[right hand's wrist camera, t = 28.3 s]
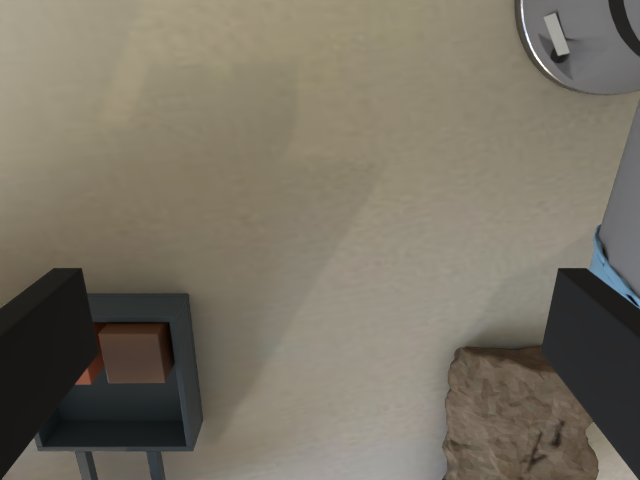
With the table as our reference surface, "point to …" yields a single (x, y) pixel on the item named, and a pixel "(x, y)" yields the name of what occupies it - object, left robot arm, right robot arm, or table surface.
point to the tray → (132, 394)
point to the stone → (513, 419)
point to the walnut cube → (137, 351)
